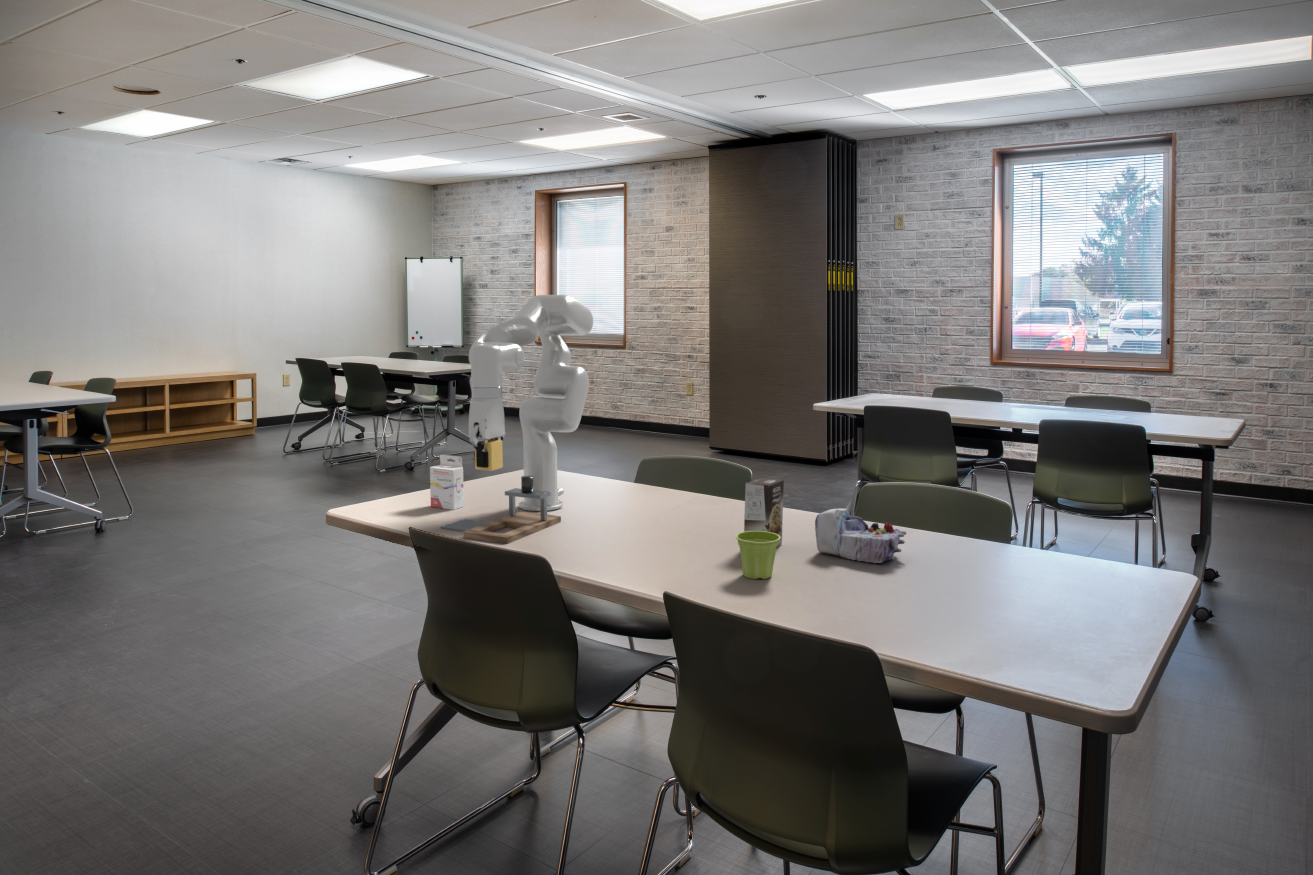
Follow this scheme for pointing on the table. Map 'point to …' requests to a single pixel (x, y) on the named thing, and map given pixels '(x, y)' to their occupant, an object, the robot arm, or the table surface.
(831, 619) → the table surface
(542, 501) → the cover bar
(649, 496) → the table surface
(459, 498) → the ink cartridge box
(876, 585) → the table surface
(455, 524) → the rubber mat
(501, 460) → the ochre block
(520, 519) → the puzzle board
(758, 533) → the plant pot
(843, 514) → the cell model
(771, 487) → the coffee box
